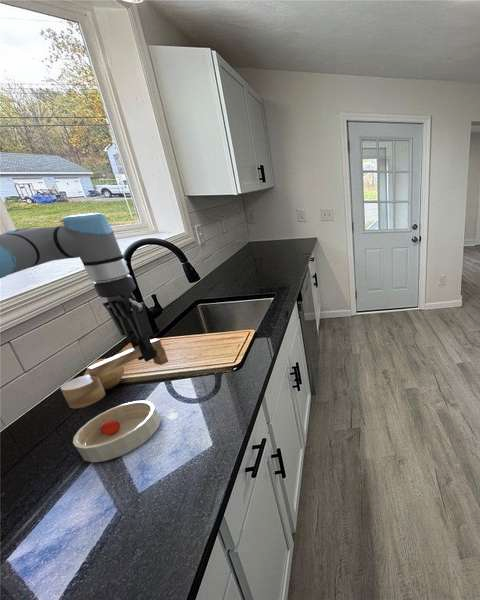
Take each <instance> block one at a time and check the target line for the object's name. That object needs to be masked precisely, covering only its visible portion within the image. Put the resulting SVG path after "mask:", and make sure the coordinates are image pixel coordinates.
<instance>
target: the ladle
mask: <svg viewBox="0 0 480 600" xmlns="http://www.w3.org/2000/svg"><path fill="white" fill-rule="evenodd" d="M150 341H151V344H152V346H153V348H154V351H155V353H156V355H157V357H155V358H153V359H152V360H153V363H154V364H155V365H159V366H163V365H164V364H166V363H169V359H168V356H167V353H166V350H165V348H164V346H163V345H162V342H161V339H160V338H152V339H150ZM141 356H143V355H142V353H141V351H140V349H139V347H138V346H136V347H134V348H133V347H132V348H130V349H127V350H124V351H122V352H120V353H118V354H115V355H113V356H111V357H107V358H105V359H106V360H104V361H101V362H99V363H97V364H94V365H92V366H90V365H89V366H90V367H89V366H88V367H86V370H87V369H88V371H89V374H90V375H85V376H83V375H82V376H77V377H76V378H72V379H71V380H69V381H67V382H65V383H63V384H62V385H61V387H60V390H61V392H62V395H63V397H64V399H65V401H66V403H67V405H68V407H69V408H70V409H81V408H86V407H89V406H91V405H93V404H96V403H97V402H98V401H101V400H102V399H103V398H104V397H105V396H106V390H104V389H103V386H102V384H101V382H100V379H99V377H98V376H100V375H102V374H104V373H106V372H108V371H110V370H113V369H115V368H117V367H119V366H121V365H123V366H124V365H125V364H128V363H130V362H133V361H134V360H138V358H139V357H141Z"/></svg>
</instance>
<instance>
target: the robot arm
mask: <svg viewBox="0 0 480 600" xmlns="http://www.w3.org/2000/svg"><path fill="white" fill-rule="evenodd" d="M62 223H63V224H62V225H57V226H56V225H55V226H44V227H43V226H42V227H32V228H30V227H25V228H24V227H23V228H18V229H14V230H9V231H8V230H7V231H6V232H4V233H0V279H3V278H5V277H7V276H9V275H12V274H16V273H18V272H21V271H24V270H27V269H31V268H34V267H37V266H40V265H43V264H46V263H49V262H54V261H59V260H67V259H68V260H69V259H78V258H79V259H80V261H81V262H82V264H83V268H84V269H85V271H86V274H87V277H88V278H89V280H90V281H91V282H93V284H92V286H93V287H94V290H95V291H96V294H97V296H98V297H100V298H106V300H107V301H103V302H102V306H103V307H104V308H105V310H107V313H108V314H109V316H110V317H111V320H112V321H113V323H114V325H115V326H116V329H117V330H118V332H119V334H120V335H121V336H122V337H124V336H125V338H126V339H128V340H129V342H130V344H131V346H132V348H134V347H136V346H138V347H139V349H140V351H141V353H142V355H143V356H141V357H139V358H137V360H138V361H142V360H144V362H149V361H151V360H153V358H155V357H157V355H156V353H155V351H154V348H153V346H152V344H151V341H150V340H151V339H150V337H151V336H153V335H154V331H153V329H152V326H151V322H150V319H149V316H148V312H147V305H146V303H145V302H140V303H139V302H138V301H137V298H136V297H135V295H134V294H133V292H134V291H135V290H136V288H137V285H136V283H135V280H134V278H133V276H132V275H130V270H129V269H130V268H129V267H128V265H127V264H128V262H127V260H125V258H124V256H123V255H124V254H122V251H121V248H120V245H119V244H118V241H117V238H116V236H115V231H114V229H112V227H111V224H110V223H109V220H108V219H107V217H106V216H105V214H102V213H98V212H96V213H95V212H94V213H93V212H92V213H83V214H73V215H67V216H63V218H62Z"/></svg>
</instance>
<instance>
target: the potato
mask: <svg viewBox="0 0 480 600" xmlns="http://www.w3.org/2000/svg"><path fill="white" fill-rule="evenodd" d="M106 359H107V358H100V359H97V360H95V361H93V362H91V364H89V366H88V367H90V366H92V365H94V364H97V363H99V362H101V361H104V360H106ZM124 373H125V367H124V365H121V366H119V367H117V368H115V369H113V370H110V371H108V372H106V373H104V374H102V375H100V376H98V377H99V379H100V382H101V384H102V386H103V389H104V391H106V390H110V389H113V388H114V387H116V386H117V385H119V384H120V382H121V380H122V377H123V375H124ZM85 375H90V374H89V371H88V369H87V368H86V370H85V372H84V373H83V375H82V376H85Z"/></svg>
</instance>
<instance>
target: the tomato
mask: <svg viewBox="0 0 480 600" xmlns="http://www.w3.org/2000/svg"><path fill="white" fill-rule="evenodd" d="M119 428H120V424H119V422H118V421H116V420H110V421H107V422H105V423H104V424H103V425H102V427H101V432H102V433H103V434H104V435H112V434H114V433H116V432H117V431H118V430H119Z"/></svg>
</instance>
